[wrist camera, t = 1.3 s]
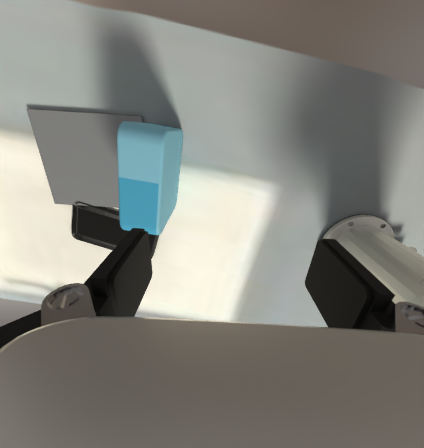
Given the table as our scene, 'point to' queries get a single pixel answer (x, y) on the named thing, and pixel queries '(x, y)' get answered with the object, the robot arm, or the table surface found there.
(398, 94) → the table surface
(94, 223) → the phone
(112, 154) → the mat
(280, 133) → the table surface
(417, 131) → the table surface
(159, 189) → the data package
